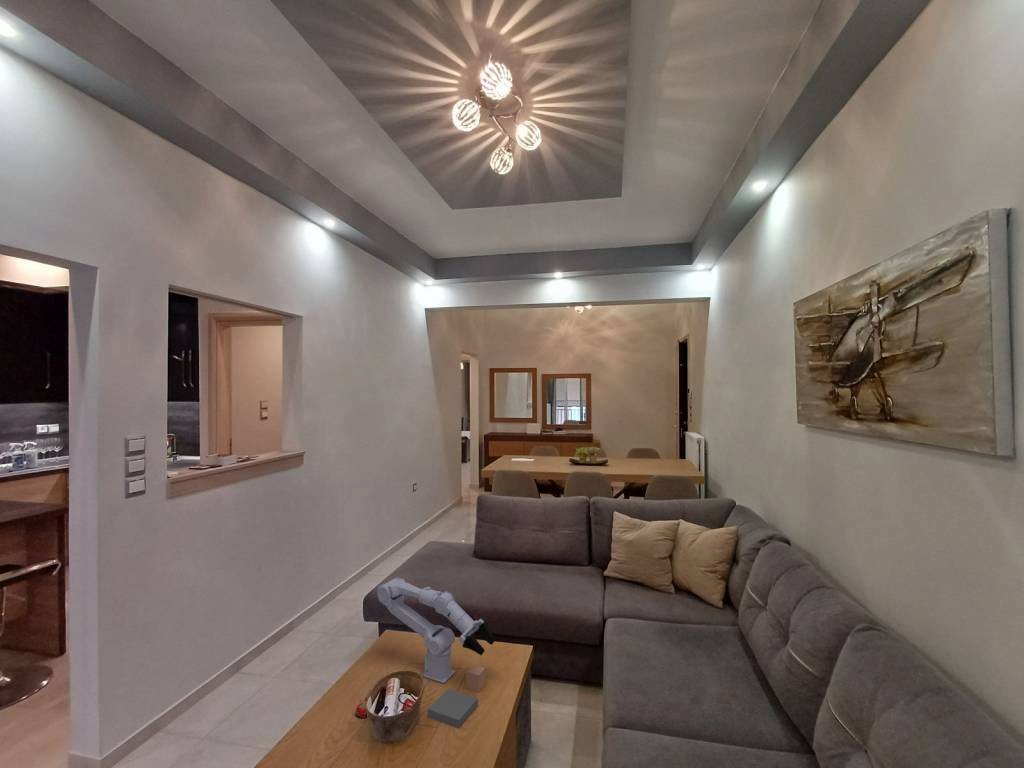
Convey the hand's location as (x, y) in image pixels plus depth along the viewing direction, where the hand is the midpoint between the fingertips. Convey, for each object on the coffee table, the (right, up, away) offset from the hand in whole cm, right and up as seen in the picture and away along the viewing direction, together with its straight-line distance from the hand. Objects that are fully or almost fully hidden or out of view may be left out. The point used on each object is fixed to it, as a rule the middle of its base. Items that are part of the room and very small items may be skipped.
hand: (488, 647), depth 171 cm
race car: (-38, -15, -10) cm, 42 cm away
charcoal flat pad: (-11, -15, -12) cm, 22 cm away
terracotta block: (-5, -15, +2) cm, 16 cm away
